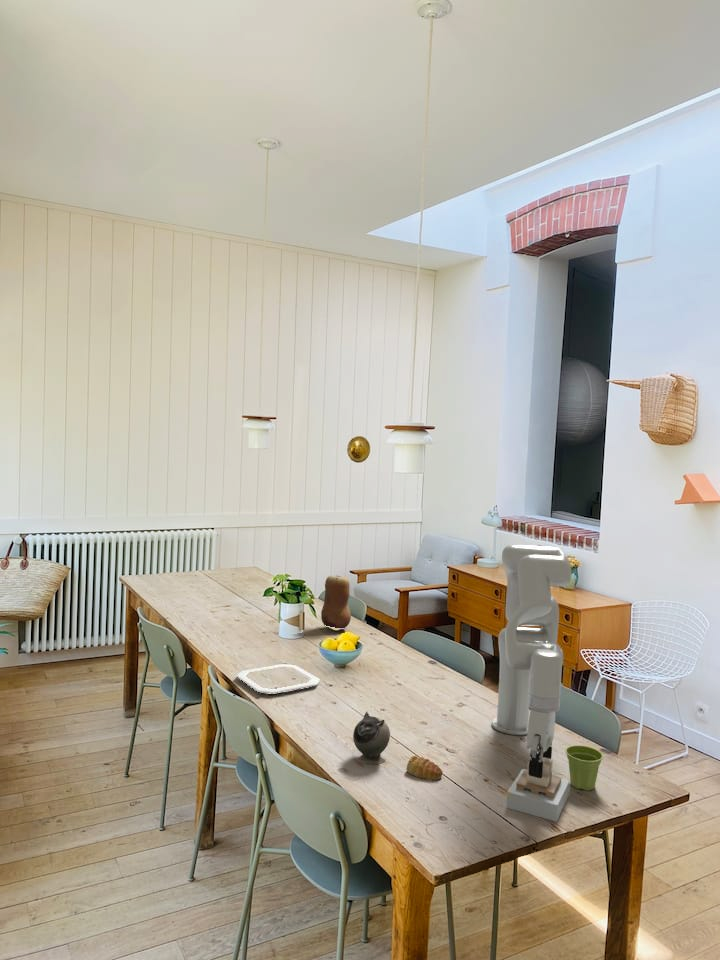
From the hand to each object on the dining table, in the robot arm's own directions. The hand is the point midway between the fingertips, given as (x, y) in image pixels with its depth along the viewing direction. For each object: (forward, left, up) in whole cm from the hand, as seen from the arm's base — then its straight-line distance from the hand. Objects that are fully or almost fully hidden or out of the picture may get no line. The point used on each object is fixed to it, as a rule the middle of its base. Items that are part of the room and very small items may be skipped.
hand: (540, 768), depth 176 cm
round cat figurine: (+1, -46, -9) cm, 47 cm away
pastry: (+1, -30, -9) cm, 32 cm away
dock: (0, 0, -8) cm, 8 cm away
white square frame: (-35, -101, -9) cm, 107 cm away
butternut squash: (-107, -118, -9) cm, 160 cm away
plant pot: (-15, +8, -9) cm, 19 cm away
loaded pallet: (0, 0, -4) cm, 4 cm away
